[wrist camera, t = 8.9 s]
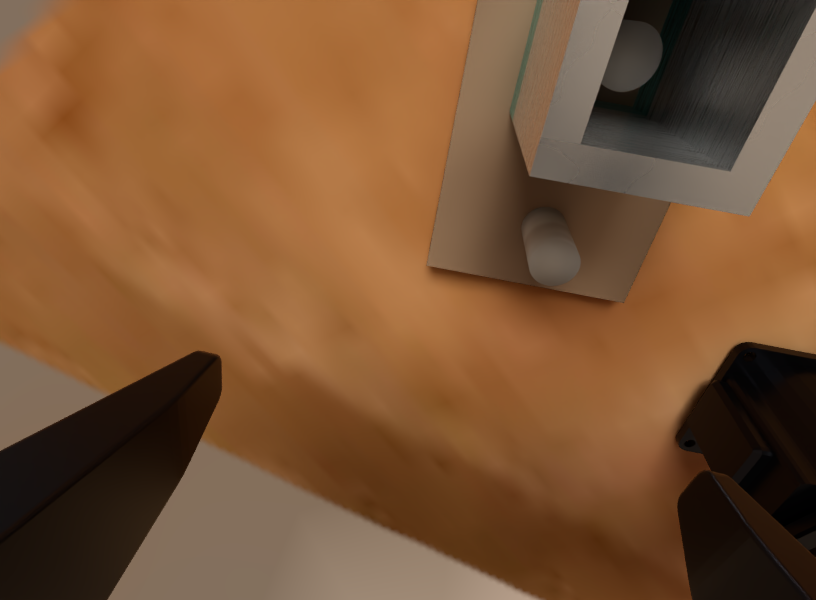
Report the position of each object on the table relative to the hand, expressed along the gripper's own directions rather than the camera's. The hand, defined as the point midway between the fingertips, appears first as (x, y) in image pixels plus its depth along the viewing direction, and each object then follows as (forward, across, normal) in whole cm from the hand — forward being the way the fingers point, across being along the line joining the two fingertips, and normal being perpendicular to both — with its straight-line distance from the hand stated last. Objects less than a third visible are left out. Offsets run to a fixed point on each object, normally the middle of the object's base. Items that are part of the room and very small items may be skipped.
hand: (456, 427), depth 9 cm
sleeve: (+11, -3, -6) cm, 13 cm away
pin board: (+12, -3, -3) cm, 13 cm away
